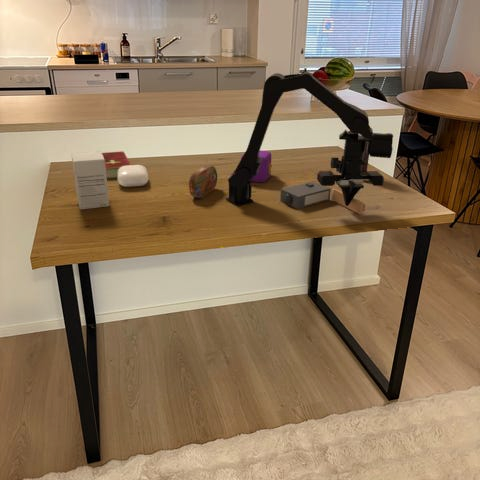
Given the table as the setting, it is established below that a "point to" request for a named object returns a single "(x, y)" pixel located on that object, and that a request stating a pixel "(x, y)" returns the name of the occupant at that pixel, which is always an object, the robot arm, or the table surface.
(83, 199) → the supplement box
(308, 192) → the block
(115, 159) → the hardcover book
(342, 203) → the side door
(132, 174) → the earbud case
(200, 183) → the tin
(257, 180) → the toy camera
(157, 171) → the table surface
